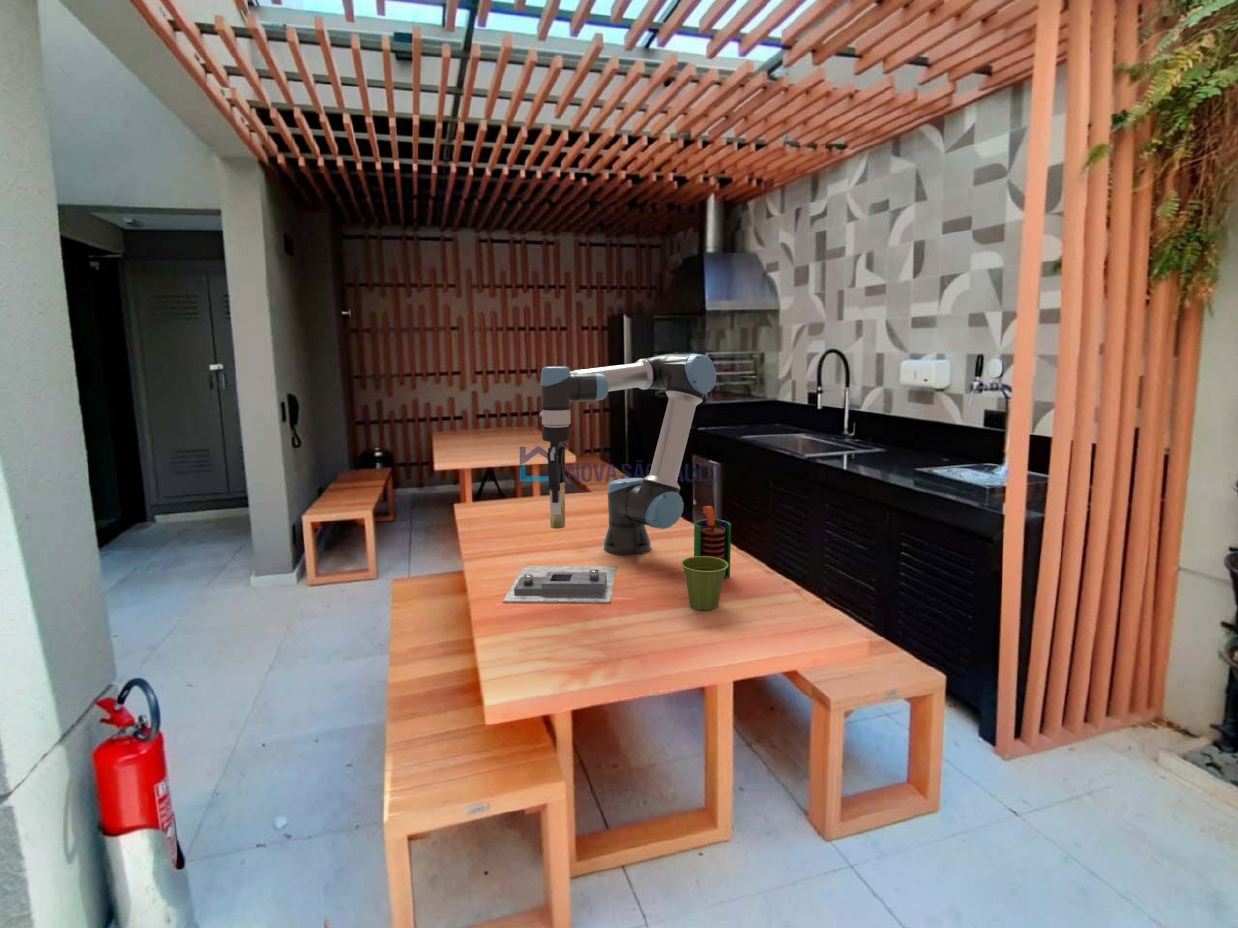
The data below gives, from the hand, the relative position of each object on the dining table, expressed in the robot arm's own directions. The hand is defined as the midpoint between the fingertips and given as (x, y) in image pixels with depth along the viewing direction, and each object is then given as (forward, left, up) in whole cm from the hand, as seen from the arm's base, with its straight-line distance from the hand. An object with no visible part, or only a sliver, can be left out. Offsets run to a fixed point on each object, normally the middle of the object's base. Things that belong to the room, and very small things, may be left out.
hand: (557, 511), depth 178 cm
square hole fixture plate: (-1, -2, -21) cm, 21 cm away
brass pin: (0, 0, -4) cm, 4 cm away
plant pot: (-39, +12, -22) cm, 46 cm away
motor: (-42, -9, -22) cm, 48 cm away
